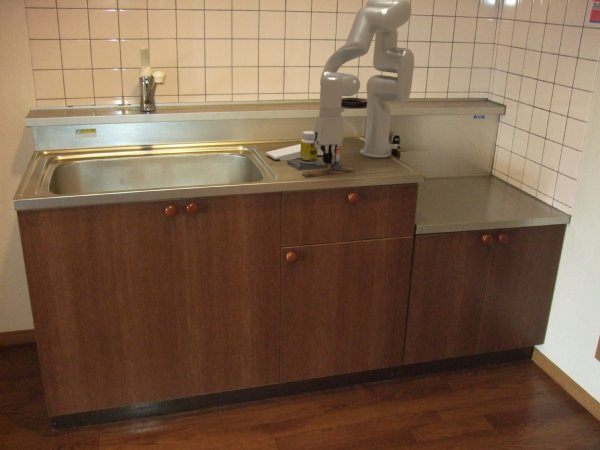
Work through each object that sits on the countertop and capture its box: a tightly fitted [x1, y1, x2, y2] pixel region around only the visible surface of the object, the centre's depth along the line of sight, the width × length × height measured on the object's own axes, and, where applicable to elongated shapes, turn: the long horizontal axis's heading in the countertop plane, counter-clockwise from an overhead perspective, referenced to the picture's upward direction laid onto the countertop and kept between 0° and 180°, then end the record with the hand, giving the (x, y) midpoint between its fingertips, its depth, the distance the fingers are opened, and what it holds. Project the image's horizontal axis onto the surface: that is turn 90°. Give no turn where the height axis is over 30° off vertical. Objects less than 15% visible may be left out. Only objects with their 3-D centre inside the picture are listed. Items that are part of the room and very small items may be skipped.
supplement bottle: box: [299, 130, 318, 164], centre depth 227 cm, size 6×6×11 cm
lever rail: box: [301, 166, 355, 178], centre depth 220 cm, size 20×3×1 cm, turn 117°
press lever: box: [330, 147, 343, 170], centre depth 219 cm, size 3×3×8 cm
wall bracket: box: [265, 143, 339, 162], centre depth 242 cm, size 10×7×28 cm
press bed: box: [286, 158, 329, 171], centre depth 229 cm, size 12×10×1 cm
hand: (327, 163), depth 218 cm, fingers closed
